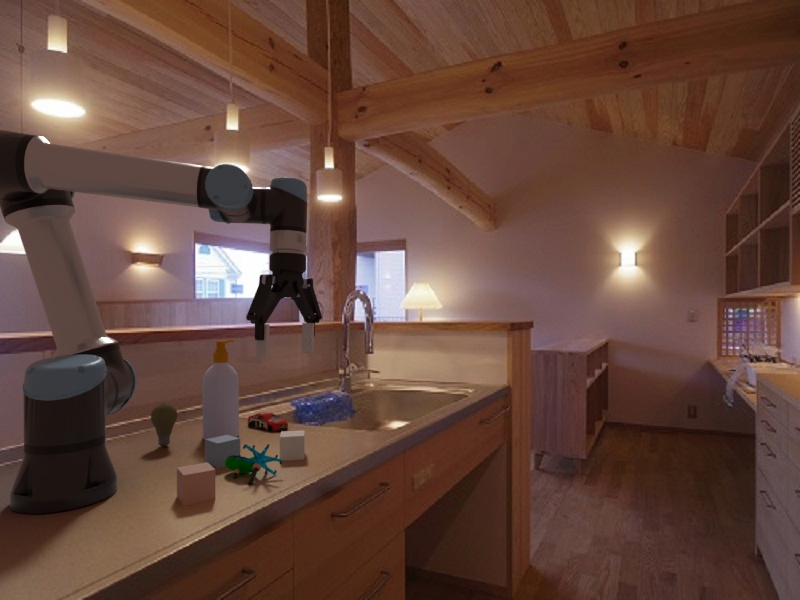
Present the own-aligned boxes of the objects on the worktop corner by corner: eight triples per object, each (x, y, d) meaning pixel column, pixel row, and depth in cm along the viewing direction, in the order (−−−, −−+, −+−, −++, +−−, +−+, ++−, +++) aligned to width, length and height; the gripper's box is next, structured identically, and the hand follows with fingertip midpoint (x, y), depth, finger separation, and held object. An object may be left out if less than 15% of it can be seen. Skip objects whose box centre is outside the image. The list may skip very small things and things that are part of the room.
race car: (291, 430, 135) (291, 415, 135) (274, 434, 131) (274, 418, 131) (261, 423, 144) (261, 409, 144) (244, 426, 140) (244, 412, 140)
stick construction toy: (291, 461, 99) (269, 435, 95) (280, 493, 93) (256, 466, 89) (240, 473, 103) (218, 448, 99) (227, 504, 97) (202, 478, 93)
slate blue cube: (217, 468, 103) (217, 443, 103) (204, 463, 106) (204, 439, 106) (240, 462, 106) (240, 438, 106) (227, 458, 110) (226, 434, 110)
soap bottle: (247, 433, 131) (247, 339, 132) (225, 442, 122) (225, 341, 123) (218, 431, 134) (218, 339, 134) (194, 440, 125) (194, 341, 125)
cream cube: (279, 461, 107) (279, 437, 107) (281, 454, 112) (281, 431, 112) (304, 459, 108) (304, 435, 108) (304, 453, 113) (304, 430, 113)
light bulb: (177, 448, 117) (177, 404, 118) (149, 451, 115) (149, 406, 115) (177, 442, 123) (177, 400, 123) (151, 445, 120) (151, 402, 121)
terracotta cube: (183, 506, 83) (183, 475, 83) (176, 497, 87) (176, 467, 87) (215, 499, 86) (215, 469, 86) (207, 491, 90) (207, 462, 90)
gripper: (257, 245, 95) (254, 360, 95) (338, 258, 117) (337, 351, 117) (228, 247, 99) (226, 358, 99) (312, 259, 121) (311, 350, 120)
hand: (286, 355), depth 108 cm, fingers open, 13 cm apart
